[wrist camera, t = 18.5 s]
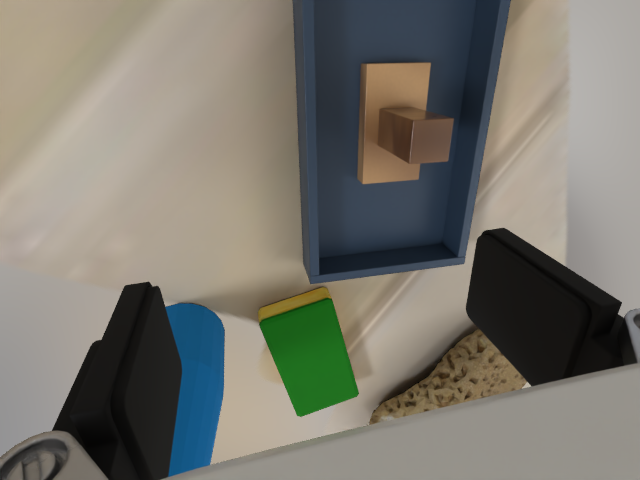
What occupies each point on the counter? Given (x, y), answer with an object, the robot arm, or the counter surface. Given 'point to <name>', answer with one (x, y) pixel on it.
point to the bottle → (197, 385)
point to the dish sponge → (309, 350)
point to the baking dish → (343, 131)
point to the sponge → (456, 380)
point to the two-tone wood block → (398, 123)
